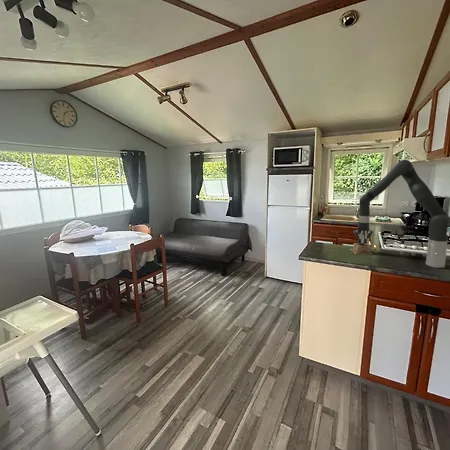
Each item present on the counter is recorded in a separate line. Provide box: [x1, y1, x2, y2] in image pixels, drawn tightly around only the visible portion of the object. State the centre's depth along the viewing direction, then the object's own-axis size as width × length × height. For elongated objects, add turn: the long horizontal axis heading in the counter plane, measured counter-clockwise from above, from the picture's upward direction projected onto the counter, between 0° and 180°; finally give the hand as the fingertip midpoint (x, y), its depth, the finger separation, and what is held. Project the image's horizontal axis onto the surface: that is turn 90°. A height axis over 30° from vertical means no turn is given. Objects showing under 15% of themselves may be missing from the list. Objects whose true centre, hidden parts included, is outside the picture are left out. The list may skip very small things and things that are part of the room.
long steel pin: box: [360, 234, 365, 246], centre depth 194 cm, size 3×3×12 cm
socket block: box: [350, 242, 374, 256], centre depth 195 cm, size 12×12×6 cm
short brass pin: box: [373, 243, 380, 254], centre depth 193 cm, size 3×3×6 cm
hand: (362, 243), depth 194 cm, fingers closed on long steel pin, 3 cm apart
